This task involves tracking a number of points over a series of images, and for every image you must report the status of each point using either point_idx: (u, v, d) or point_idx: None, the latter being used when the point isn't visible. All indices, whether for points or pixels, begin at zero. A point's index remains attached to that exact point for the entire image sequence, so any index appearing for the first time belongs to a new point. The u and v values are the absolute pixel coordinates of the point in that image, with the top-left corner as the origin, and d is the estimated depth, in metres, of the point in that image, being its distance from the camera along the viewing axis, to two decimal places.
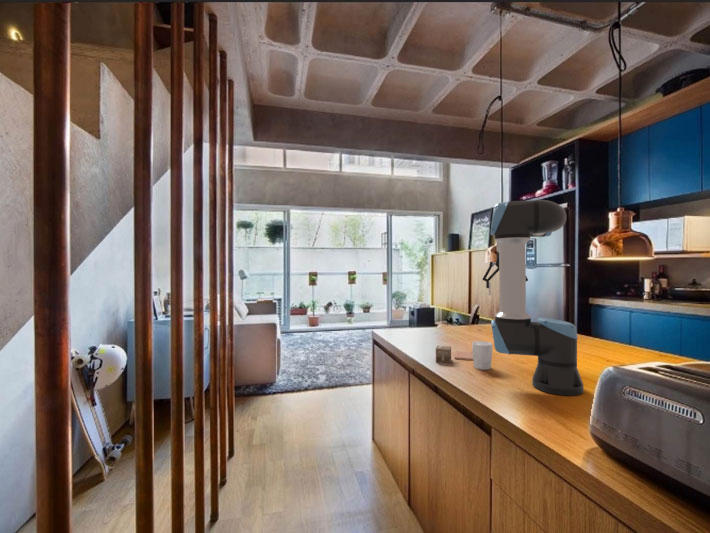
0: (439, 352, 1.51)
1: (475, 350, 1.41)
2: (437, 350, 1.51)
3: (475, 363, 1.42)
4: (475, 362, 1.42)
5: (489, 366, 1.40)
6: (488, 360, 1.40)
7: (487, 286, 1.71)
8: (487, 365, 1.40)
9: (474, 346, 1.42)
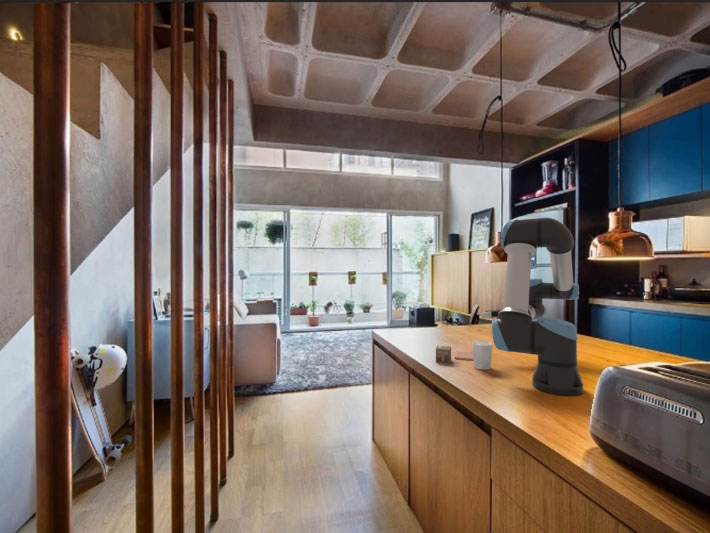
0: (439, 352, 1.51)
1: (475, 350, 1.41)
2: (437, 350, 1.51)
3: (475, 363, 1.42)
4: (475, 362, 1.42)
5: (489, 366, 1.40)
6: (488, 360, 1.40)
7: None
8: (487, 365, 1.40)
9: (474, 346, 1.42)
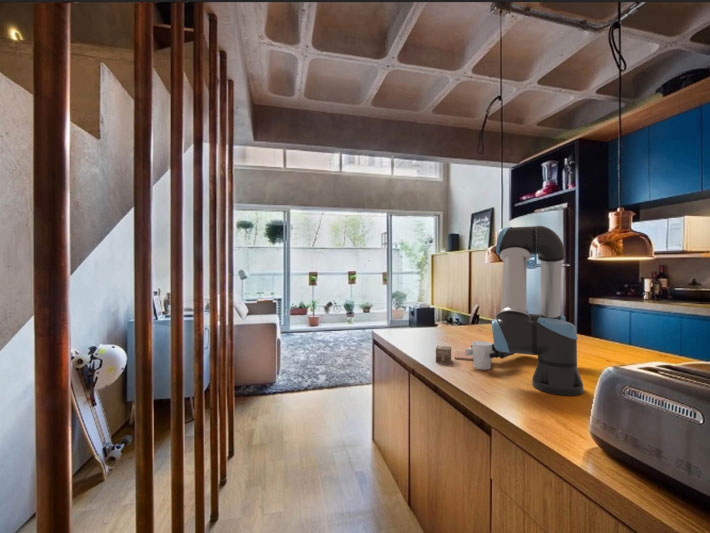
0: (439, 352, 1.51)
1: (475, 350, 1.41)
2: (437, 350, 1.51)
3: (475, 363, 1.42)
4: (475, 362, 1.42)
5: (489, 366, 1.40)
6: (488, 360, 1.40)
7: None
8: (487, 365, 1.40)
9: (474, 346, 1.42)
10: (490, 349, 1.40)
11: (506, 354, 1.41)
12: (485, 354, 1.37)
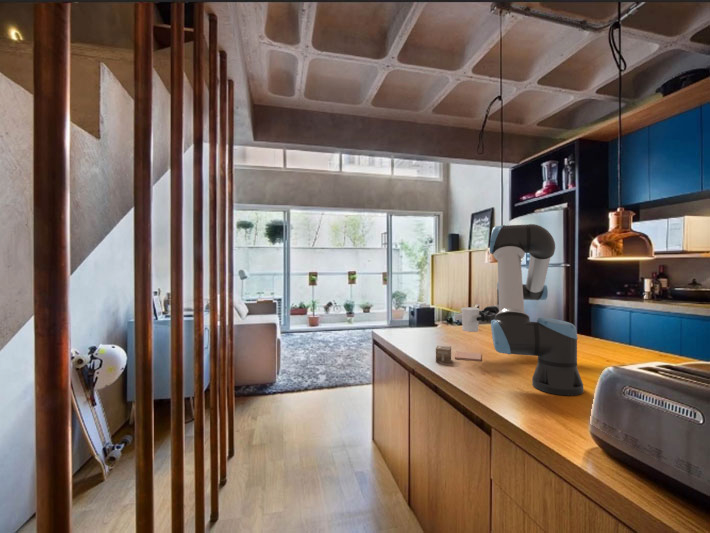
0: (439, 352, 1.51)
1: (464, 314, 1.56)
2: (437, 350, 1.51)
3: (464, 326, 1.56)
4: (464, 325, 1.56)
5: (476, 329, 1.55)
6: (475, 323, 1.54)
7: (460, 314, 1.61)
8: (474, 328, 1.54)
9: (463, 311, 1.56)
10: (477, 313, 1.54)
11: (492, 318, 1.55)
12: (472, 317, 1.51)
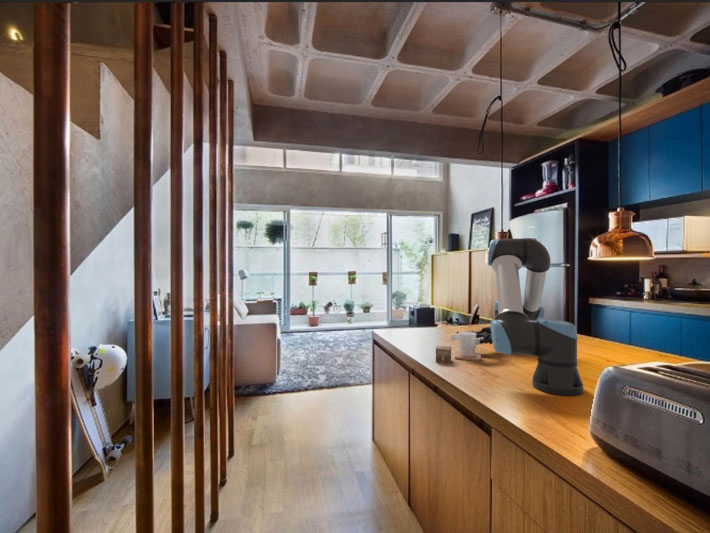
0: (439, 352, 1.51)
1: (461, 339, 1.58)
2: (437, 350, 1.51)
3: (461, 351, 1.58)
4: (461, 350, 1.58)
5: (473, 353, 1.57)
6: (472, 348, 1.56)
7: None
8: (471, 352, 1.56)
9: (460, 336, 1.58)
10: (474, 338, 1.56)
11: None
12: (475, 340, 1.52)
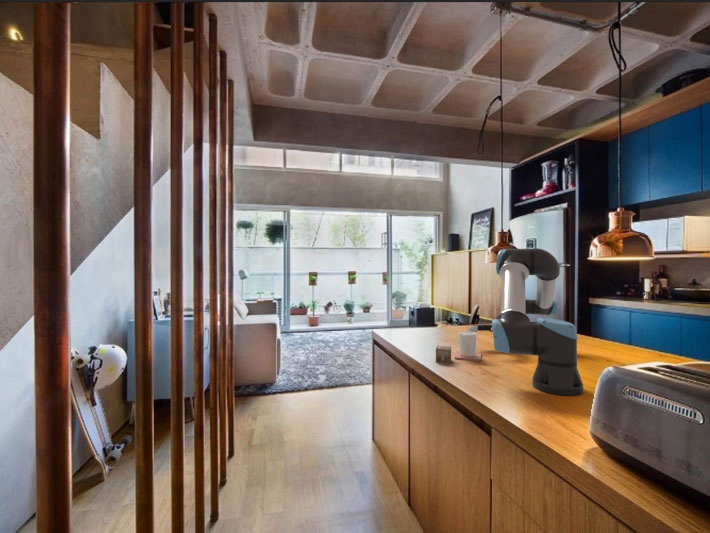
0: (439, 352, 1.51)
1: (461, 339, 1.58)
2: (437, 350, 1.51)
3: (461, 351, 1.58)
4: (461, 350, 1.58)
5: (473, 353, 1.57)
6: (472, 348, 1.56)
7: None
8: (471, 352, 1.56)
9: (460, 336, 1.58)
10: (474, 338, 1.56)
11: None
12: None
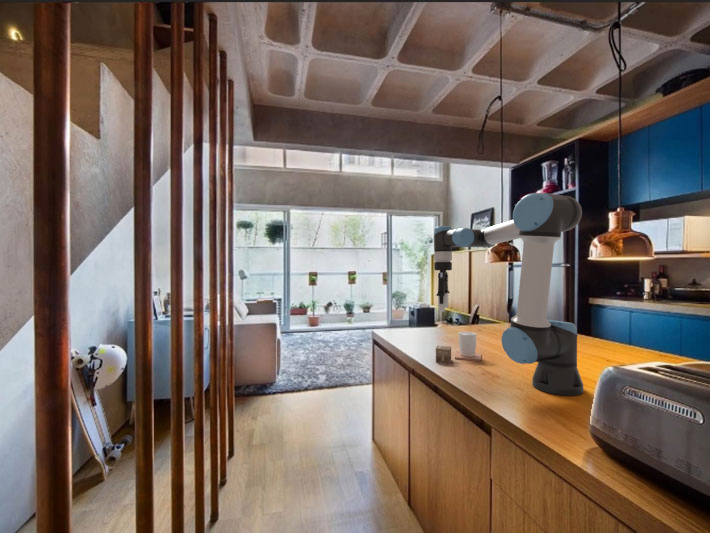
0: (439, 352, 1.51)
1: (461, 339, 1.58)
2: (437, 350, 1.51)
3: (461, 351, 1.58)
4: (461, 350, 1.58)
5: (473, 353, 1.57)
6: (472, 348, 1.56)
7: (443, 301, 1.45)
8: (471, 352, 1.56)
9: (460, 336, 1.58)
10: (474, 338, 1.56)
11: None
12: None
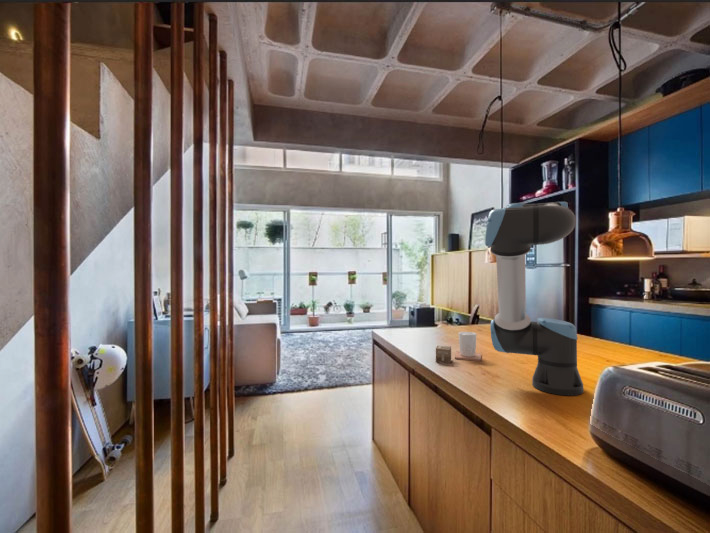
0: (439, 352, 1.51)
1: (461, 339, 1.58)
2: (437, 350, 1.51)
3: (461, 351, 1.58)
4: (461, 350, 1.58)
5: (473, 353, 1.57)
6: (472, 348, 1.56)
7: None
8: (471, 352, 1.56)
9: (460, 336, 1.58)
10: (474, 338, 1.56)
11: None
12: None
